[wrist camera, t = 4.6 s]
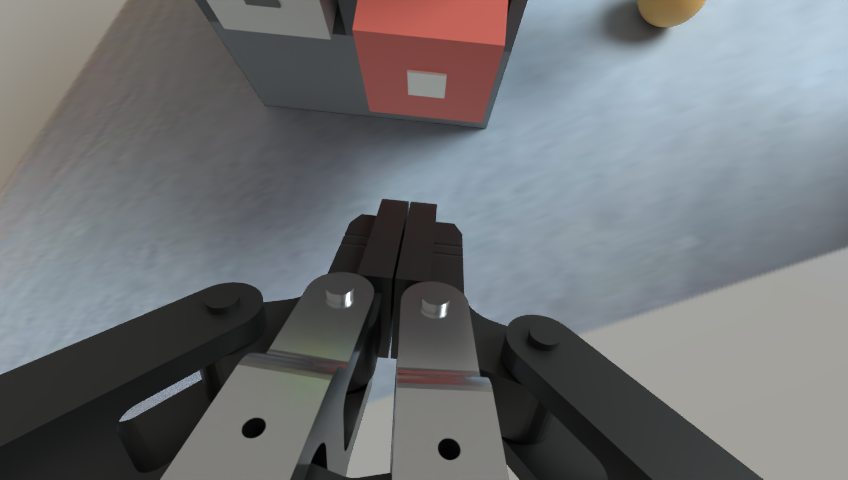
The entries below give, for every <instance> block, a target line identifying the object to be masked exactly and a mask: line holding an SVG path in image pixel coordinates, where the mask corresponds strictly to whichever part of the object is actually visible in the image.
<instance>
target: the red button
mask: <svg viewBox="0 0 848 480" xmlns="http://www.w3.org/2000/svg"><path fill="white" fill-rule="evenodd" d="M507 9H508V0H357V6H356V12H355V17H354V23H353V29H352V31H353V36H354V40H355V45H356V50H357V54H358V59H359V63H360V68H361V73H362V77H363V82H364V87H365V91H366V96H367V101H368V105H369V110H370V111H372V112H381V113H391V114H400V115H410V116H419V117H429V118H439V119H448V120H458V121H467V122H477V123H482V121H483V118H484V114H485V111H486V108H487V104H488V101H489V97H490V94H491V91H492V87H493V84H494V81H495V77H496V74H497V70H498V67H499V64H500V60H501V57H502V54H503V50H504V47H505V37H506V23H507Z"/></svg>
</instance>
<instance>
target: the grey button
mask: <svg viewBox="0 0 848 480" xmlns="http://www.w3.org/2000/svg"><path fill="white" fill-rule="evenodd" d="M207 2H208V3H209V5H210V7H211V8H212V10H213V11H214V13H215V15H216V16H217V18H218V19H219V21H220V23H221V24H222V26H223V27H224V29H232V30H241V31H251V32H261V33H270V34H280V35H290V36H300V37H309V38H319V39H329V40H331V37H332V31H333V26H334V21H335V15H336V10H337V4H338V0H207Z"/></svg>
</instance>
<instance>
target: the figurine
mask: <svg viewBox="0 0 848 480" xmlns="http://www.w3.org/2000/svg"><path fill="white" fill-rule="evenodd" d="M705 2H706V0H638V8H639V11H640V13H641V15H642V17H643V18H644V19H645V20H646V21H647V22H648V23H650V24H652V25H654V26H657V27H673V26H676V25H679V24H682V23H684V22H686V21H687V20H689V19H690V18H692V17H693V16H694V15H695V14H696V13H697V12H698V11H699V10H700V9H701V8H702V6H703V5H704V3H705Z"/></svg>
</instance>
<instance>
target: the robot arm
mask: <svg viewBox="0 0 848 480" xmlns="http://www.w3.org/2000/svg"><path fill="white" fill-rule="evenodd" d="M436 209H437V204H428V203H418V202H411V203H410V208H409V202H408V201H398V200H389V199H382V202H381V205H380V208H379V210H378V213H377V216H373V215H364V214H361V215H360V216H359V217H357V218H356V219H355V220H353V221H352V222H350V224H349V226H348V228H347V231H346V233H345V236H344V237H343V240H342V242H341V245H340V247H339V249H338V251H337V253H336V256H335V258H334V260H333V263H332V265H331V267H330V269H329V272H328V274H326V275H323V276H321V277H318V278H317V279H315V280H314V281H312V282H311V283H310V284H309V286H308V287H307V288H306V290H305V292H304V293H303V295H302V296H301V297H298V298H294V299H288V300H280V301H271V302H263V297H262V294H261V292H260V291H259V290H258V289H257V288H255V287H253V286H251V285H248V284H245V283H234V282H232V283H223V284H218V285H214V286H211V287H208V288H206V289H203V290H201V291H199V292H196V293H194V294H192V295H189V296H187V297H184V298H182V299H180V300H177V301H175V302H173V303H170V304H168V305H165V306H163V307H161V308H158V309H156V310H153V311H151V312H149V313H146V314H144V315H142V316H139V317H137V318H134V319H132V320H130V321H127V322H125V323H123V324H120V325H118V326H115V327H113V328H111V329H108V330H106V331H104V332H101V333H99V334H96V335H94V336H92V337H89V338H87V339H84V340H82V341H80V342H77V343H75V344H73V345H70V346H68V347H65V348H63V349H61V350H58V351H56V352H54V353H51V354H49V355H46V356H44V357H42V358H39V359H37V360H34V361H32V362H30V363H27V364H25V365H23V366H20V367H18V368H15V369H13V370H11V371H8V372H6V373H4V374H1V375H0V480H509V476H508V472H507V466H506V464H507V465H508V466H509V468H510V469H511V470H512V471H513V472H514V474H515V475H516V476H517V477H518V478H519V480H763V479H762V478H761V477H759V476H758V475H757V474H755V473H754V472H753V471H752V470H750V469H749V468H748V467H747V466H745V465H744V464H743V463H741V462H740V461H739V460H737V459H736V458H735V457H734V456H732V455H731V454H730V453H728V452H727V451H726V450H725V449H723V448H722V447H721V446H719V445H718V444H717V443H715V442H714V441H713V440H712V439H710V438H709V437H708V436H706V435H705V434H704V433H703V432H701V431H700V430H699V429H698V428H696V427H695V426H694V425H692V424H691V423H690V422H688V421H687V420H686V419H684V418H683V417H682V416H681V415H679V414H678V413H677V412H676V411H674V410H673V409H671V408H670V407H669V406H668V405H667V404H665V403H664V402H663V401H661V400H660V399H658V397H656V396H655V395H654V394H652V393H651V392H650V391H648V390H647V389H646V388H645V387H643V386H642V385H641V384H639V383H638V382H637V381H635V380H634V379H633V378H632V377H630V376H629V375H628V374H626V373H625V372H624V371H623V370H621V369H620V368H619V367H617V366H616V365H615V364H614V363H612V362H611V361H610V360H608V359H607V358H606V357H605V356H603V355H602V354H601V353H599V352H598V351H597V350H595V349H594V348H593V347H592V346H590V345H589V344H588V343H587V342H585V341H584V340H583V339H581V338H580V337H579V336H578V335H576V334H575V333H574V332H572V331H571V330H570V329H568V328H567V327H566V326H564V325H563V324H561V323H559V322H558V321H556V320H553V319H551V318H548V317H544V316H539V315H525V316H520V317H518V318H516V319H514V320H512V321H511V322H510V323H509V325H508V326H505V325H502V324H499V323H496V322H493V321H491V320H488V319H486V318H484V317H482V316H481V315H479V314H478V313H476V312H475V311H474V310H473V309H472V308H471V307H470V306H469V304H468V300H467V298H466V297H465V295H464V279H463V248H462V234H461V232H460V231H459V230H458V228H457V227H456V226H455V224H451V223H441V222H436ZM391 337H392V345H391V358H393V359H397V364H396V377H395V391H394V410H393V426H392V445H391V463H390V473H387V474H381V475H374V476H368V477H361V478H348V477H346V473H347V468H348V464H349V460H350V456H351V453H352V449H353V446H354V443H355V439H356V436H357V433H358V430H359V426H360V423H361V420H362V416H363V413H364V409H365V406H366V403H367V400H368V396H369V393H370V390H371V385H372V376H373V374H374V371H375V367H376V362H377V357H382V358H388V354H389V349H390V343H391ZM199 370H200V374H201V377H202V380H200V381H198V382H197V383H195V384H193V385H191V386H189V387H188V388H186V389H184V390H182V391H181V392H179V393H177V394H175V395H173V396H172V397H170V398H168V399H166V400H164V401H163V402H161V403H159V404H157V405H156V406H154V407H152V408H150V409H148V410H147V411H145V412H143V413H141V414H140V415H138V416H136V417H134V418H132V419H130V420H127V421H122V422H119V420H120V419H121V417H122V416H123V415H124V414H125V413H126V412H127V411H128V410H129V409H130V408H132V407H133V406H135V405H136V404H138V403H140V402H142V401H144V400H145V399H147V398H149V397H151V396H153V395H155V394H156V393H158V392H160V391H162V390H164V389H166V388H167V387H169V386H171V385H173V384H175V383H177V382H179V381H180V380H182V379H184V378H186V377H188V376H190V375H191V374H193V373H195V372H197V371H199Z"/></svg>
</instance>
